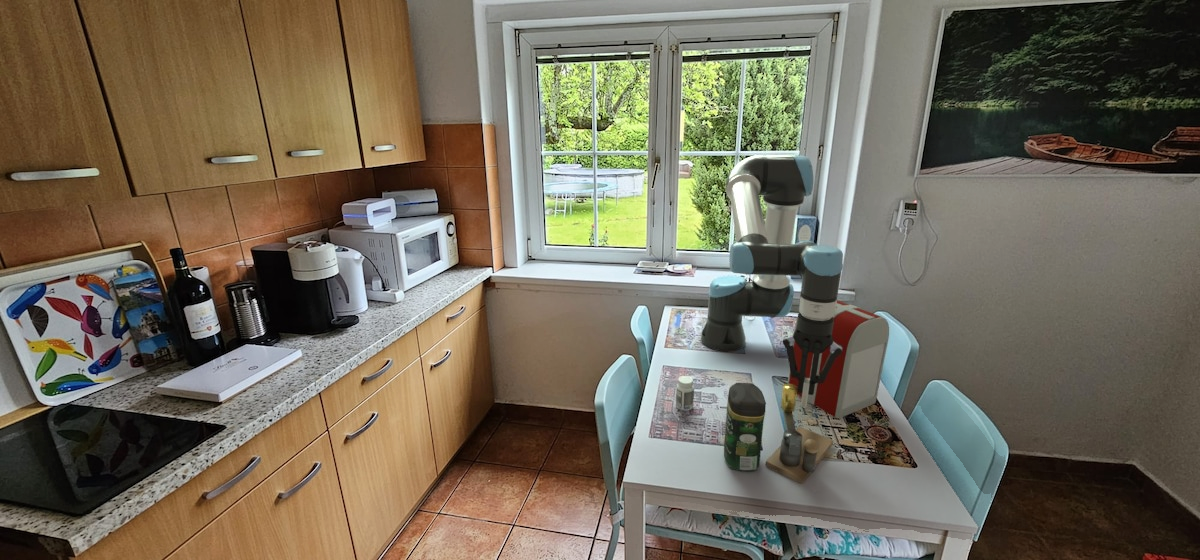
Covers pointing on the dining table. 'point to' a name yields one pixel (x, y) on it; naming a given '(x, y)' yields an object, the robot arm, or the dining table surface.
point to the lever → (790, 419)
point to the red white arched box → (849, 362)
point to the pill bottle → (685, 393)
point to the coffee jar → (744, 426)
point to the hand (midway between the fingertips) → (803, 404)
